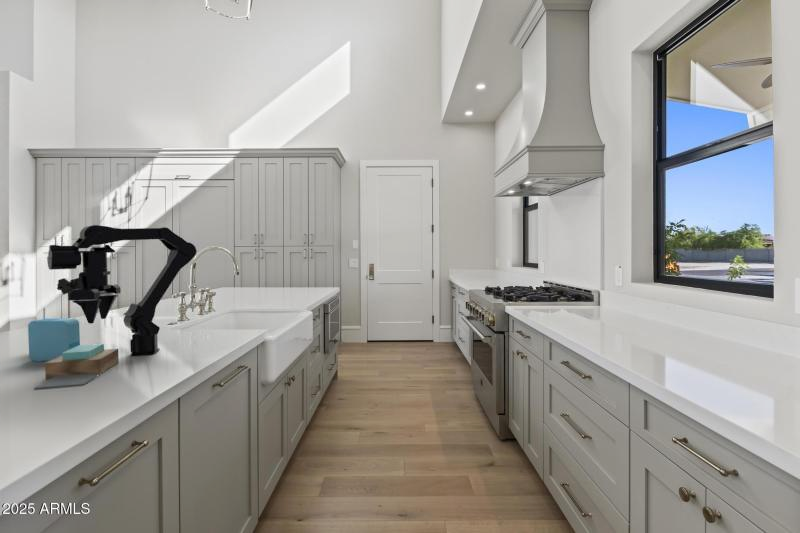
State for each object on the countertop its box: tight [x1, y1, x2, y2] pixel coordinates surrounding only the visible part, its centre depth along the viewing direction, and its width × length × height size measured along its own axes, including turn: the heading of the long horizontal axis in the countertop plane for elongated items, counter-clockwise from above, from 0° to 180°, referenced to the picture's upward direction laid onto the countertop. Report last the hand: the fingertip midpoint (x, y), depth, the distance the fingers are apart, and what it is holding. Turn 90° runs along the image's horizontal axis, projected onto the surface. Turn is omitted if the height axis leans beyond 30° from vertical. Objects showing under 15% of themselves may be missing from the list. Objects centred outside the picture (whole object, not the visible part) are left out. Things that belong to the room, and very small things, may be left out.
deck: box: [44, 348, 120, 379], centre depth 109 cm, size 12×12×4 cm
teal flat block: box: [62, 343, 105, 361], centre depth 109 cm, size 6×9×2 cm, turn 16°
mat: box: [33, 373, 101, 390], centre depth 100 cm, size 10×10×1 cm
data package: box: [27, 318, 81, 362], centre depth 120 cm, size 12×4×12 cm, turn 89°
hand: (97, 321), depth 118 cm, fingers open, 8 cm apart
